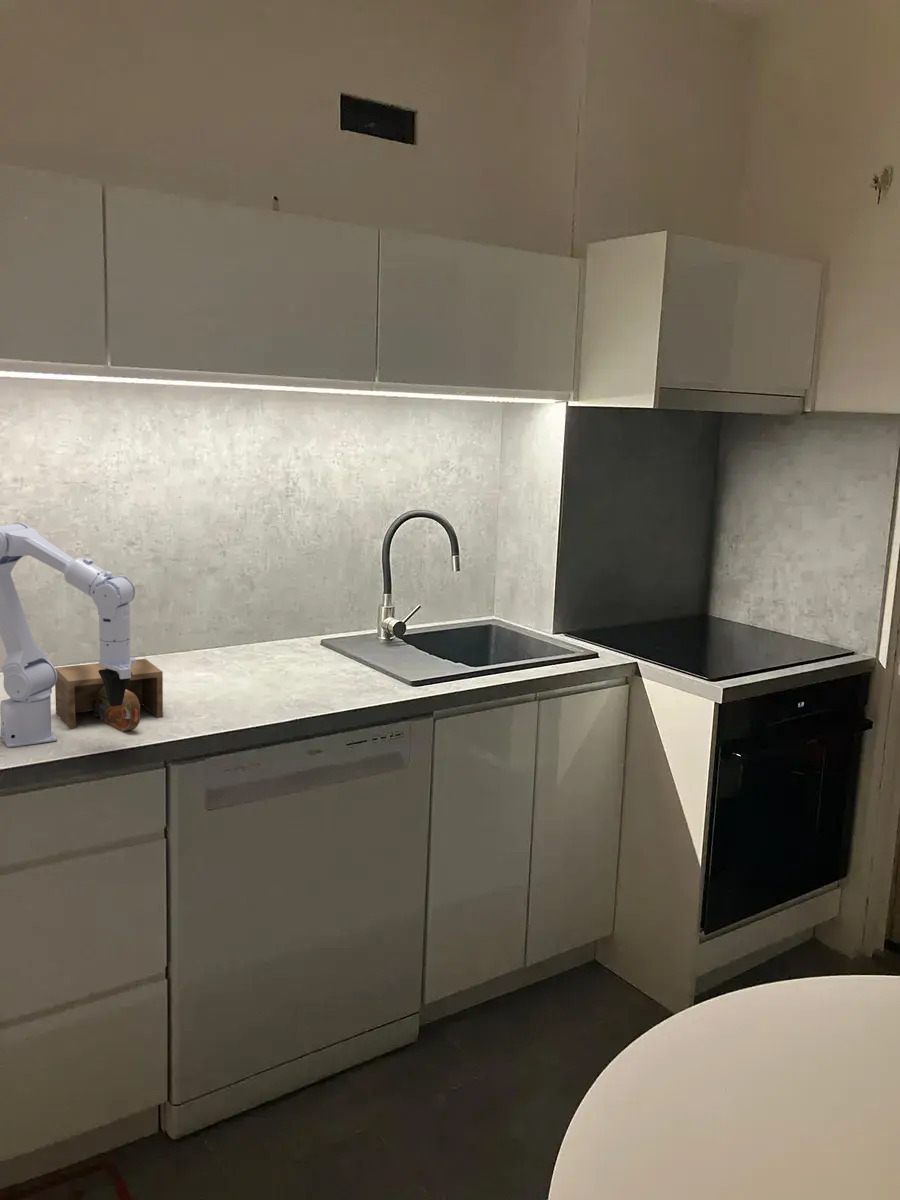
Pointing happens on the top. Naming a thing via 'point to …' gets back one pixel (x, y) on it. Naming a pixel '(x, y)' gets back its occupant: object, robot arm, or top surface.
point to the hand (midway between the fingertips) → (115, 705)
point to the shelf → (84, 683)
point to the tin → (119, 711)
